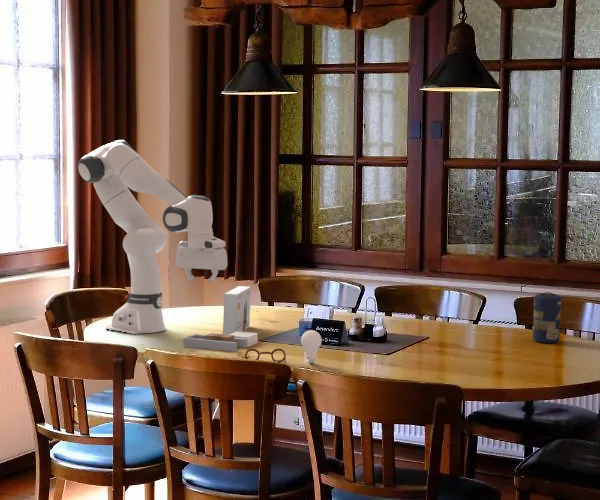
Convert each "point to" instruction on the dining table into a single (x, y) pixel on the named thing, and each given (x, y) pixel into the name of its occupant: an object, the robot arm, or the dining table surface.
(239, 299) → the skincare box
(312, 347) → the light bulb
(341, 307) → the dining table surface
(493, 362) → the dining table surface
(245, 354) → the glasses
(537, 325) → the canister
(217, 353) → the dining table surface
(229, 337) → the walnut blank
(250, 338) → the ceramic pedestal
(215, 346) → the grey rectangular tray
